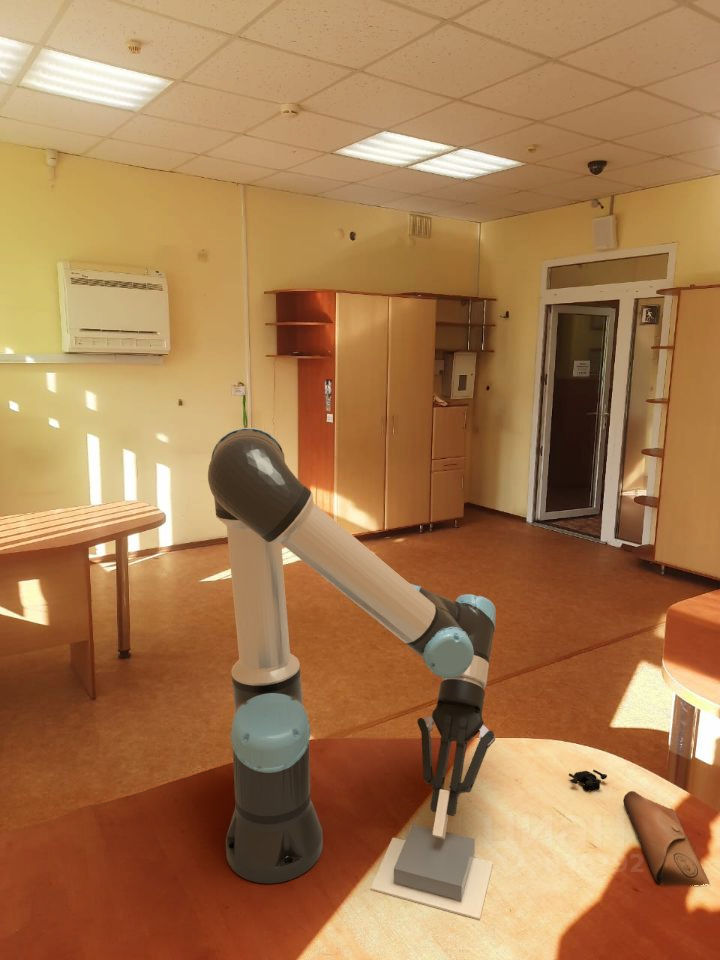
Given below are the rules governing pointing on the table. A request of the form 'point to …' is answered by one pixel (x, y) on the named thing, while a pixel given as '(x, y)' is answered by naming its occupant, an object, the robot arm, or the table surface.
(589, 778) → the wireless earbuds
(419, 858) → the slate tile
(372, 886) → the felt mat
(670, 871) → the sunglasses case
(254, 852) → the robot arm
